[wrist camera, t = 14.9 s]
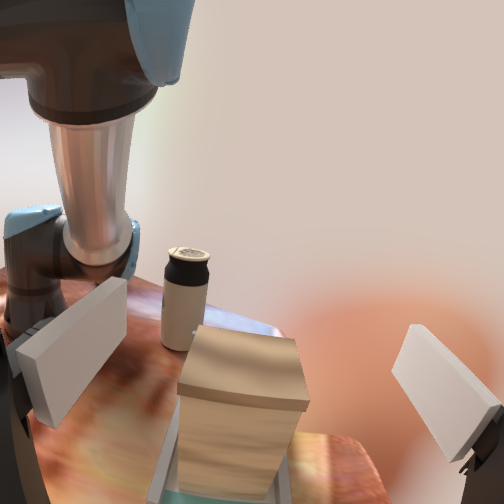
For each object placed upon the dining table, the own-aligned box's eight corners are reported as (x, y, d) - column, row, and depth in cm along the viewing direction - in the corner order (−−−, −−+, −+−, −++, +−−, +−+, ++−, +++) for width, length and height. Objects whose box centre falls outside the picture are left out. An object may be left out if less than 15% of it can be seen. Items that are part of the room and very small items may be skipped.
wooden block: (189, 432, 31) (199, 324, 28) (263, 442, 31) (294, 339, 28) (175, 489, 22) (177, 382, 19) (265, 501, 22) (310, 400, 19)
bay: (188, 377, 44) (193, 330, 42) (273, 390, 45) (285, 345, 43) (148, 511, 19) (140, 470, 17) (286, 528, 19) (313, 491, 18)
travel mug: (204, 337, 58) (215, 252, 55) (194, 356, 51) (206, 262, 47) (168, 328, 59) (175, 244, 55) (154, 346, 51) (159, 252, 47)
